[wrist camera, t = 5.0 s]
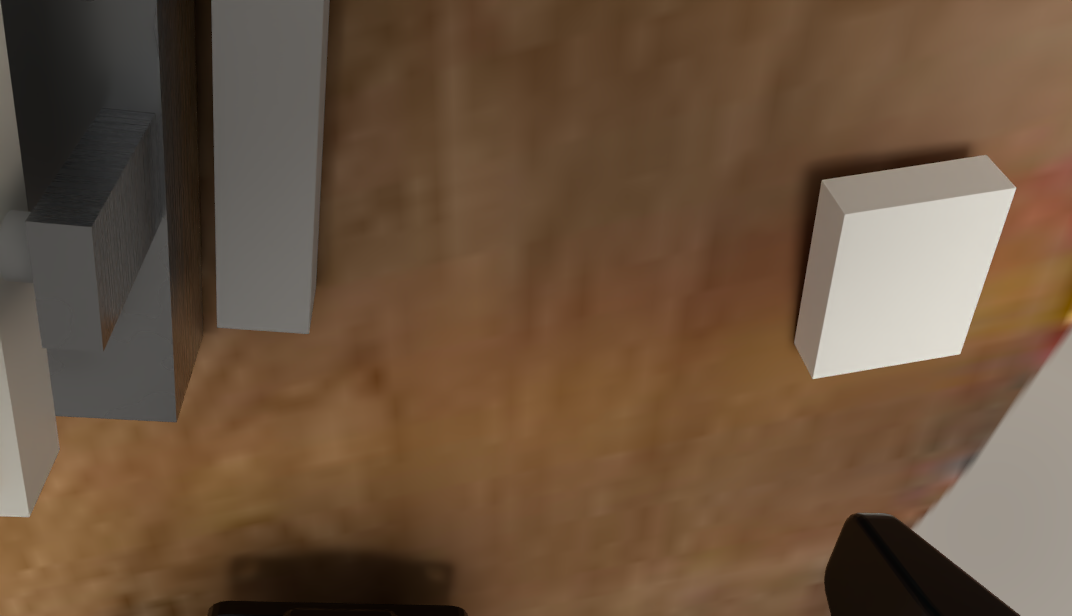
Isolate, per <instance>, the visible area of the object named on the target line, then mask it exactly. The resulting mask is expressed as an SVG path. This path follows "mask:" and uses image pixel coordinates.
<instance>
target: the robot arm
mask: <svg viewBox="0 0 1072 616" xmlns="http://www.w3.org/2000/svg"><path fill="white" fill-rule="evenodd" d="M824 584H825V592H826V597H827V601H828V605H829V609H830V613H831V616H1020V615H1019V614H1018V613H1016V612H1015V611H1014V610H1013V609H1011V608H1010V607H1009V606H1007V605H1006V604H1005V603H1004V602H1003V601H1001V600H1000V599H999V598H998V597H996V596H995V595H994V594H992V593H991V592H990V591H989V590H987V589H986V588H985V587H984V586H982V585H981V584H980V583H978V582H977V581H976V580H974V579H973V578H972V577H971V576H970V575H968V574H967V573H966V572H965V571H963V570H962V569H961V568H959V567H958V566H957V565H955V564H954V563H953V562H952V561H950V560H949V559H948V558H946V557H945V556H944V555H943V554H942V553H940V552H939V551H938V550H937V549H935V548H934V547H933V546H931V545H930V544H929V543H928V542H926V541H925V540H924V539H923V538H921V537H920V536H919V535H917V534H916V533H915V532H914V531H912V530H911V529H910V528H909V527H907V526H906V525H905V524H904V523H902V522H901V521H900V520H898V519H897V518H895V517H894V516H892V515H889V514H885V513H855V514H852V515H851V516H850V517H849V518H848V519H847V520H846V521H845V523H844V525H843V528H842V530H841V533H840V535H839V538H838V540H837V542H836V545H835V547H834V550H833V552H832V554H831V557H830V559H829V562H828V564H827V567H826V570H825V579H824ZM208 616H468V615H467V613H466V612H465V610H463V609H461V608H459V607H456V606H441V605H394V604H347V603H301V602H254V601H223V602H219V603H216V604H214V605H213V606H212V607H211V608H210V609H209V612H208Z"/></svg>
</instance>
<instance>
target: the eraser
mask: <svg viewBox="0 0 1072 616" xmlns="http://www.w3.org/2000/svg"><path fill="white" fill-rule="evenodd" d="M1015 190H1016V187H1015V186H1014V185H1013V184H1012V182H1011V181H1010V180H1009V179H1008V178H1007V177H1006V176H1005V175H1004V174H1003V173H1002V171H1001V170H1000V169H999V168H998V167H997V166H996V165H995V164H994V163H993V162H992V161H991V159H990V158H989V157H988V156H987V155H983V156H976V157H969V158H963V159H956V160H950V161H943V162H937V163H930V164H924V165H917V166H910V167H904V168H897V169H891V170H884V171H878V172H871V173H864V174H858V175H851V176H845V177H838V178H832V179H825V180H822V182H821V188H820V194H819V200H818V205H817V211H816V217H815V223H814V229H813V235H812V241H811V247H810V253H809V258H808V264H807V270H806V276H805V282H804V288H803V294H802V300H801V306H800V311H799V317H798V323H797V329H796V335H795V341H794V344H795V346H796V348H797V350H798V352H799V354H800V356H801V358H802V360H803V361H804V363H805V365H806V367H807V369H808V371H809V373H810V375H811V377H812V379H816V378H822V377H828V376H834V375H840V374H846V373H852V372H857V371H863V370H869V369H875V368H881V367H887V366H893V365H899V364H905V363H911V362H917V361H922V360H928V359H934V358H940V357H946V356H952V355H958V354H960V353H961V350H962V347H963V344H964V341H965V338H966V335H967V332H968V329H969V326H970V323H971V320H972V317H973V314H974V311H975V308H976V306H977V303H978V300H979V297H980V294H981V291H982V288H983V285H984V282H985V279H986V276H987V273H988V270H989V267H990V264H991V261H992V258H993V255H994V252H995V249H996V246H997V244H998V241H999V238H1000V235H1001V232H1002V229H1003V226H1004V223H1005V220H1006V217H1007V214H1008V211H1009V208H1010V205H1011V202H1012V199H1013V196H1014V193H1015Z"/></svg>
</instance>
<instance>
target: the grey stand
mask: <svg viewBox="0 0 1072 616" xmlns="http://www.w3.org/2000/svg"><path fill="white" fill-rule="evenodd" d="M0 1H1V9H2V16H3V24H4V31H5V39H6V46H7V54H8V62H9V69H10V77H11V84H12V92H13V99H14V107H15V114H16V122H17V130H18V137H19V145H20V152H21V160H22V167H23V175H24V183H25V190H26V198H27V205H28V212H31V213H30V214H29V216H28V217H27V219H26V220H25V227H26V234H27V241H28V248H29V256H30V263H31V270H32V278H33V285H34V292H35V300H36V307H37V314H38V321H39V329H40V336H41V343H42V348H46V349H47V357H48V364H49V372H50V379H51V387H52V395H53V402H54V410H55V416H67V417H86V418H105V419H124V420H143V421H162V422H177V419H178V416H179V413H180V409H181V406H182V403H183V400H184V396H185V393H186V390H187V387H188V383H189V380H190V377H191V374H192V370H193V367H194V364H195V360H196V357H197V354H198V351H199V347H200V344H201V341H202V338H203V303H202V266H201V229H200V191H199V154H198V117H197V80H196V43H195V6H194V0H0Z"/></svg>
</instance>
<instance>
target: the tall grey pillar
mask: <svg viewBox="0 0 1072 616" xmlns="http://www.w3.org/2000/svg"><path fill="white" fill-rule="evenodd" d="M329 5H330V0H211V8H212V65H213V122H214V179H215V236H216V293H217V328H230V329H245V330H259V331H274V332H288V333H302V334H309V330H310V324H311V317H312V310H313V304H314V297H315V290H316V277H317V256H318V235H319V214H320V193H321V173H322V152H323V131H324V110H325V89H326V68H327V47H328V26H329Z"/></svg>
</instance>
